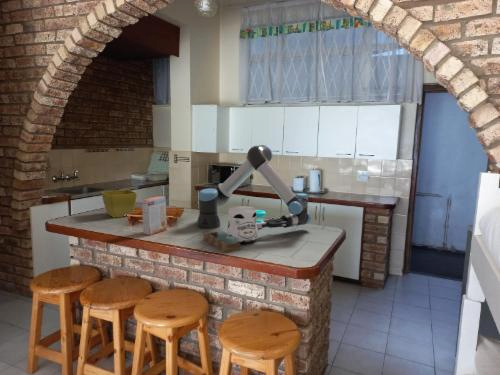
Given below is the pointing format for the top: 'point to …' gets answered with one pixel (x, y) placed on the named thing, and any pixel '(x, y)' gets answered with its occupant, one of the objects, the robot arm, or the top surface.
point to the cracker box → (154, 215)
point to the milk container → (242, 224)
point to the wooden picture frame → (220, 242)
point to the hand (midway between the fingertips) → (256, 226)
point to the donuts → (260, 215)
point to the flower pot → (119, 202)
